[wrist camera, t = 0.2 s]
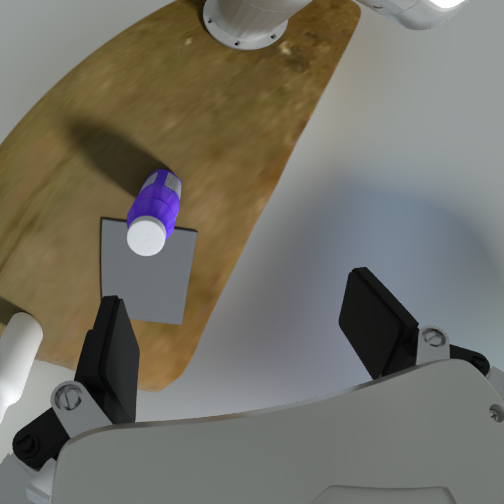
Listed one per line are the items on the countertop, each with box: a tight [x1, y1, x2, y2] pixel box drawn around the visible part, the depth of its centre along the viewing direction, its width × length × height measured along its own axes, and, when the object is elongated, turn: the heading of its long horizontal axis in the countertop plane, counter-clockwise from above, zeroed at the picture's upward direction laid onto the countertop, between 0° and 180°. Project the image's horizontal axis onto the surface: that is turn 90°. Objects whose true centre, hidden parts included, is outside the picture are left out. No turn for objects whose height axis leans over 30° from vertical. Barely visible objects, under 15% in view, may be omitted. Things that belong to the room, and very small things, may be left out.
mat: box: [101, 218, 197, 325], centre depth 49 cm, size 20×16×1 cm
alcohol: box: [0, 312, 43, 424], centre depth 36 cm, size 9×9×30 cm
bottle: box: [127, 169, 182, 256], centre depth 35 cm, size 7×6×17 cm
